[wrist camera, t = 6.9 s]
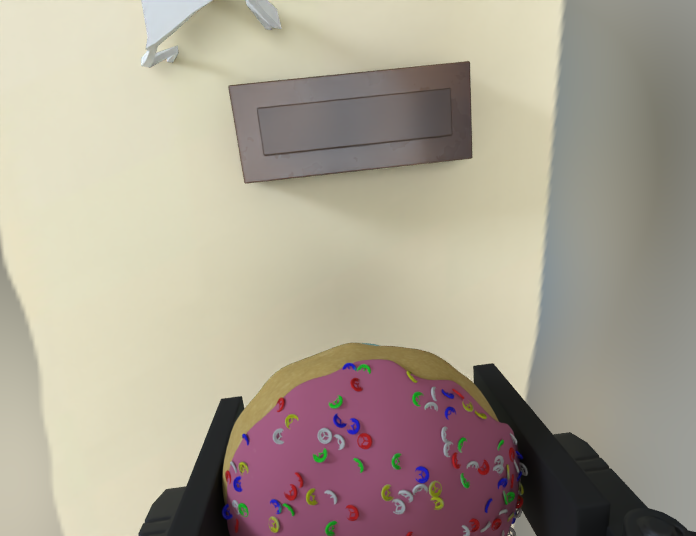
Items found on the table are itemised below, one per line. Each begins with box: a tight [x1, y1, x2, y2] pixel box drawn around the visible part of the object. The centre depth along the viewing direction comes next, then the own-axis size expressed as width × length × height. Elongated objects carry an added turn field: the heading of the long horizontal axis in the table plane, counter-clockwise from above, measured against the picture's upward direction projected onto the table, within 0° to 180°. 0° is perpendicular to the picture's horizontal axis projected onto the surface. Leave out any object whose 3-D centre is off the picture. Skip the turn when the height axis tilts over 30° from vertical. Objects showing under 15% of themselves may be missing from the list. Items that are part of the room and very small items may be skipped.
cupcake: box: [222, 343, 528, 536], centre depth 11 cm, size 9×8×12 cm
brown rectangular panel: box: [229, 61, 472, 183], centre depth 26 cm, size 14×6×4 cm, turn 96°
